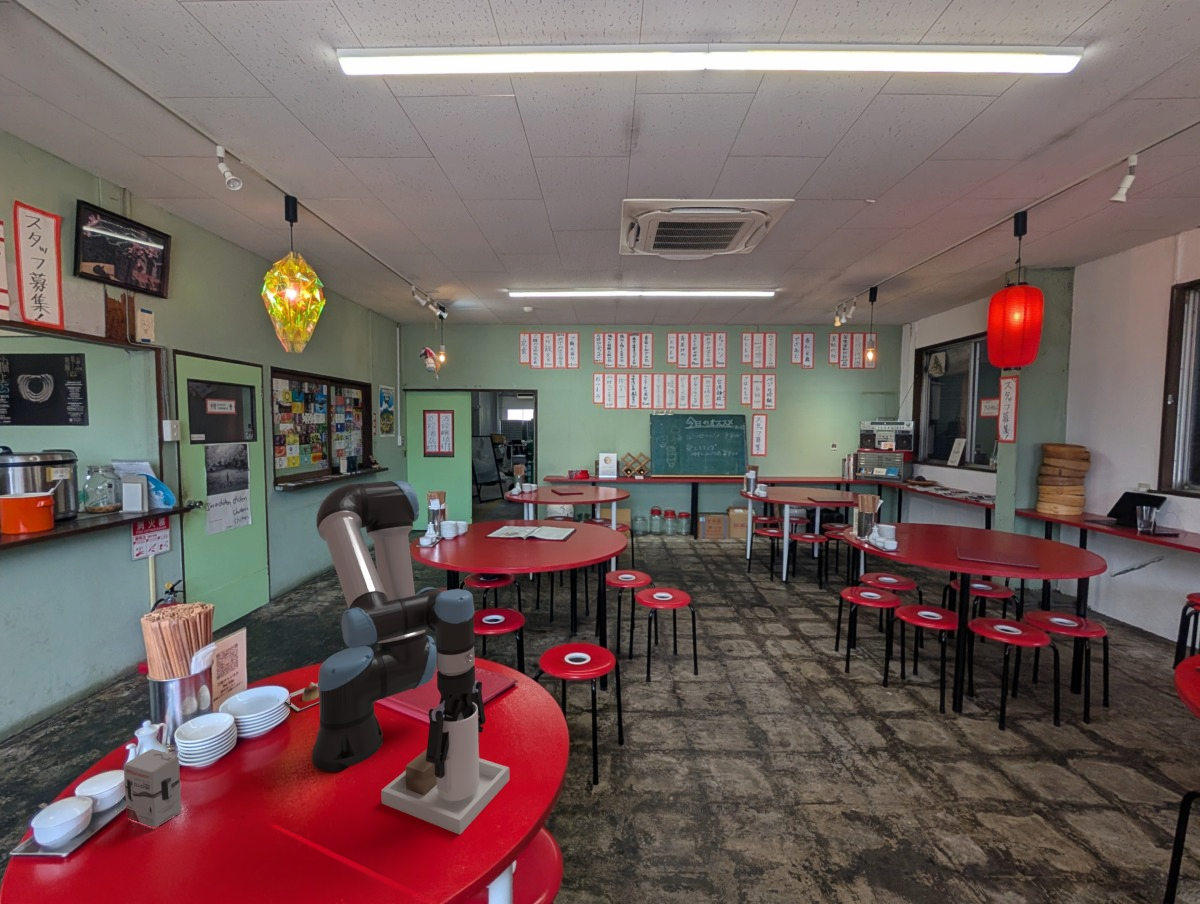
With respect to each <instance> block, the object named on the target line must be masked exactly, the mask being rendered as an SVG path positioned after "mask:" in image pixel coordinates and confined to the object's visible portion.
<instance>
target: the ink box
mask: <svg viewBox="0 0 1200 904" xmlns="http://www.w3.org/2000/svg"><path fill="white" fill-rule="evenodd" d="M179 759H180V758H179V756H178V755H177V754H173V753H170V752H169V753H168V752H166V751H161V750H159V749H158V750H157V749H154V748H152V749H149V750H147V751H145V752H143V753H141V754H140V755H138V756H136V757H134V758H132V759H131V760H129V761H127V762H125V763H124V764H123V777H124V793H125V809H126V811H125V812H126V819H127V818H129V819H131V820H134V821H137V822H140V823H143V824H146V825H148V826H151V827H154V828H155V827H157V826H159V825H160V824H162V823H164V822H165V821H167V820H169V819H170V818H172V817H173V816H175V815H177V814H178V815H180V814H181V813H182V799H181V798H182V796H181V794H182V793H181V777H180V762H179V761H180V760H179ZM180 812H181V813H180ZM179 813H180V814H179ZM178 815H177V816H178ZM175 817H176V816H175ZM172 819H173V818H172ZM169 821H170V820H169Z"/></svg>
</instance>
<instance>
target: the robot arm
mask: <svg viewBox="0 0 1200 904" xmlns="http://www.w3.org/2000/svg"><path fill="white" fill-rule="evenodd" d="M419 511H420V504H419V498H418V495H417V493H416V490H415V489H414V487H413V486H412V485H411V483H409V482H407V481H404V480H403V481H401V480H397V481H396V480H395V481H394V480H389V481H388V480H386V481H376V482H365V483H364V482H363V483H362V482H361V483H349V484H344V485H342V486H339V487H337V488H336V489H334V490H333V491H332V492H331V493H329V494H328V495H327V496H326V497H325V498H324V500H323V501H322V502H321V504H320V506H319V508H318V510H317V514H316V529H317V533H318V535H319V537H320V538H321V539H322V540H323V541H325V542H326V544H327V547H328V550H329V554H330V556H331V560H332V562H333V566H334V568H335V571H336V576H337V577H338V581H339V584H340V586H341V590H342V592H343V595H344V596H343V597H344V598H345V599H344V600H345V601H346V605H347V608H348V609H347V610H345V611H344V612H343V613H342V615H341V624H340V625H341V626H340V627H341V632H342V639H343V641H344V644H345V645H346V646H347V648H345V649H342V650H340V651H338V652H336V653H334V654H332V655H331V656H329V657H328V658H327V659H325V660H324V661H323V662H322V663H321V665H320V666H319V669H318V678H317V679H318V680H317V681H318V682H317V683H318V687H317V689H318V692H319V697H318V702H319V703H318V704H319V707H318V708H319V728H318V731H317V735H316V738H315V739H316V740H315V743H314V745H313V747H312V752H311V761H312V766H313V767H314V768H315V769H317V770H319V771H322V772H328V773H329V772H341V771H346V769H348V768H349V767H351V766H355V765H357V764H360V763H362V762H364V761H365V760H368V759H369V758H370V757H372V756H374V754H376V753H377V752H378V751H379V750H380V749H381V748H382V745H383V743H384V737H383V736H384V735H383V730H382V727H381V725H380V723H379V720H378V718H377V716H376V714H375V702H378V701H380V700H383V699H386V698H390V697H391V696H395V695H398V694H400V693H404V692H407V691H411V690H416V689H417V688H418V687H421V686H424V685H427V684H428V683H429V682H430V681H431V680H433V678H434V675H435V673H436V682H437V683H436V684H437V690H438V692H439V693H440V699H439V705H437V707H436V708H430V709H429V710H428V718H429V719H428V720H429V725H428V736H427V744H426V749H427V753H426V761H427V762H430V763H433V764H435V776H436V777H437V789H438V790H440V791H443V792H446V793H448V792H449V791H450V762H449V758H446V757H447V753H448V748H449V731H448V732H443V721H448V722H455V721H457V719H458V715H459V714H460V713H462V715H463V717H464V719H466V718H469V717H470V716H472V715H473V706H474V705H473V703H472V702H474V703H475V704H476V705H477V707H478V743H479V744H480V734H481V733H483V731H484V727H483V726H482V725H485V724H486V721H487V720H486V713H485V705H484V701H483V700H484V699H483V693H482V690H483V689H482V688H483V682H482V681H478V680H476V666H475V610H476V609H475V605H474V597H473V594H472V593H471V591H469V590H467V589H460V588H456V589H449V590H445V591H444V590H441V589H440V588H436V587H431V586H429V587H423V588H421V589H420V590H419V591H418V592H416V590H415V589H416V588H415V582H414V575H413V565H412V557H411V549H410V540H409V534H410V532H412V530H413V529H414V523H415V522H416V521H417V520H418V518H419V516H420V512H419ZM361 528H365V530H366V535H367V536H368V537H369V538H371V539H372V540H373V543H374V544H373V545H374V555H375V562H374V561H373V558H372V556H371V553H370V551H369V548H368V546H367V543H366V540H365V539H364V538H365V537H364V536H363V532H362V530H361ZM375 564H376V566H375ZM428 629H429V630H430V629H431V630H432V631H433V632H434V633H435V639H436V641H435V640H434V638H433V637H432V636H430V635H427V632H426V630H428ZM376 643H377V649H375V650H373V649H372V648H371V647H370V645H374V644H376ZM435 643H436V644H435ZM436 670H437V672H436ZM446 714H447V715H448V716H452V718H450V717H447V716H446ZM440 753H441V754H440Z"/></svg>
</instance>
